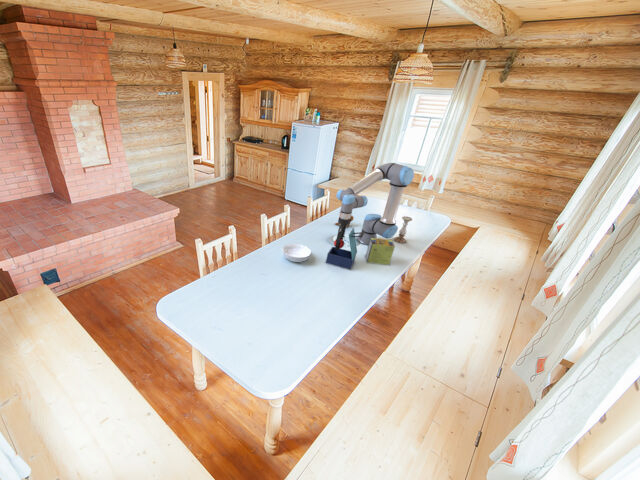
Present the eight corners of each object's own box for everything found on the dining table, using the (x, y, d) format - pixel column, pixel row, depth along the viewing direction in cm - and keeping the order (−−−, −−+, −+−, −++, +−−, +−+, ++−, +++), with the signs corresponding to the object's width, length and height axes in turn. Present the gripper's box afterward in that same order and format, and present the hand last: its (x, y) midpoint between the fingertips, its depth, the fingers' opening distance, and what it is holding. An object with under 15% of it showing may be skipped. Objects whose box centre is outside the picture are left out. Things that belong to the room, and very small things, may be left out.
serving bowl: (309, 267, 224) (311, 258, 221) (280, 263, 228) (281, 255, 224) (310, 253, 242) (311, 245, 238) (282, 250, 245) (283, 242, 241)
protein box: (389, 265, 230) (395, 246, 222) (367, 262, 232) (372, 243, 224) (386, 258, 238) (392, 239, 230) (365, 255, 241) (370, 237, 233)
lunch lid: (348, 235, 212) (361, 234, 208) (352, 228, 222) (365, 227, 217) (352, 259, 219) (364, 259, 214) (356, 252, 228) (368, 251, 224)
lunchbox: (325, 262, 230) (327, 253, 226) (330, 255, 240) (332, 246, 236) (350, 269, 223) (352, 260, 219) (354, 261, 232) (356, 252, 228)
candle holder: (403, 238, 268) (410, 216, 257) (407, 243, 260) (414, 220, 250) (392, 237, 268) (399, 215, 258) (396, 242, 261) (403, 219, 250)
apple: (334, 244, 231) (336, 234, 227) (344, 247, 228) (346, 237, 224) (332, 248, 226) (334, 238, 221) (341, 251, 223) (344, 241, 219)
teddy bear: (334, 224, 289) (337, 211, 282) (346, 222, 294) (349, 208, 287) (341, 228, 281) (344, 215, 274) (353, 226, 286) (357, 212, 280)
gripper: (342, 212, 224) (336, 240, 236) (335, 221, 209) (329, 251, 221) (353, 214, 221) (346, 243, 233) (346, 224, 206) (339, 254, 218)
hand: (338, 247), depth 227 cm, fingers closed on apple, 7 cm apart
